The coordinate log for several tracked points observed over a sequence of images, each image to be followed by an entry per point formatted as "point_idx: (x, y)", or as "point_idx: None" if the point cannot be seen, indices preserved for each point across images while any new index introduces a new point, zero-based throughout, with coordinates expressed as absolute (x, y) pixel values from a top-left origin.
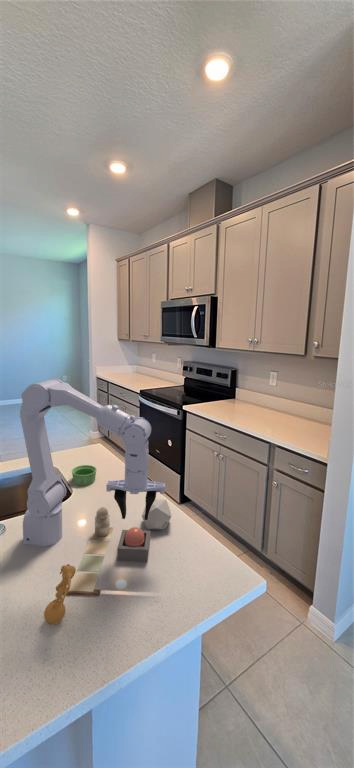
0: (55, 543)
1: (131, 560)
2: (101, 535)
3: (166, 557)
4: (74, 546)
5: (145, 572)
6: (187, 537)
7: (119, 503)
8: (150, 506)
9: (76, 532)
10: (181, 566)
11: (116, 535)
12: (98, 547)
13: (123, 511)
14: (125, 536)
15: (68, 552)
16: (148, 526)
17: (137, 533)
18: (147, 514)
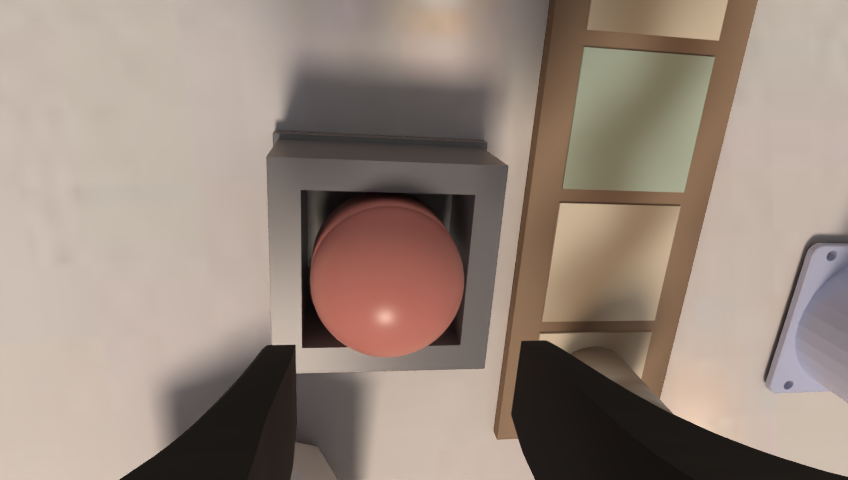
0: (829, 280)
1: (390, 144)
2: (594, 353)
3: (154, 206)
4: (723, 275)
5: (286, 60)
6: (26, 403)
7: (720, 447)
8: (158, 457)
9: (716, 383)
10: (27, 119)
11: (499, 380)
12: (602, 260)
13: (581, 381)
14: (462, 267)
15: (752, 227)
16: (305, 453)
17: (367, 268)
18: (247, 377)
